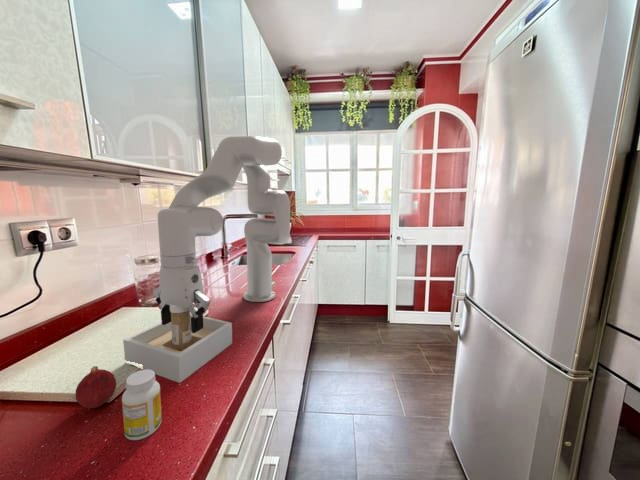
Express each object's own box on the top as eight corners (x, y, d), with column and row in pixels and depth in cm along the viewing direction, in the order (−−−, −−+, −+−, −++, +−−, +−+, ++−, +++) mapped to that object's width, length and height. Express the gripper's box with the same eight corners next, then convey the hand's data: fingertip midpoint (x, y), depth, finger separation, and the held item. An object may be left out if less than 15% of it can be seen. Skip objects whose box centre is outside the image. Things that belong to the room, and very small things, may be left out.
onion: (124, 401, 51) (121, 363, 50) (88, 423, 46) (84, 381, 44) (106, 391, 53) (103, 354, 52) (70, 411, 48) (66, 371, 47)
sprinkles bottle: (193, 354, 67) (191, 303, 65) (172, 359, 64) (170, 307, 62) (191, 345, 70) (189, 297, 68) (171, 350, 68) (168, 300, 66)
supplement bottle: (133, 447, 42) (129, 393, 40) (118, 431, 44) (113, 379, 43) (168, 423, 46) (165, 374, 45) (152, 410, 49) (149, 363, 48)
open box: (184, 330, 78) (183, 311, 77) (232, 343, 72) (231, 322, 71) (125, 363, 62) (123, 339, 61) (179, 383, 56) (178, 357, 55)
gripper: (218, 261, 64) (220, 326, 67) (166, 253, 70) (170, 314, 73) (194, 268, 57) (197, 341, 60) (138, 259, 63) (143, 326, 66)
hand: (182, 326), depth 66 cm, fingers open, 9 cm apart
